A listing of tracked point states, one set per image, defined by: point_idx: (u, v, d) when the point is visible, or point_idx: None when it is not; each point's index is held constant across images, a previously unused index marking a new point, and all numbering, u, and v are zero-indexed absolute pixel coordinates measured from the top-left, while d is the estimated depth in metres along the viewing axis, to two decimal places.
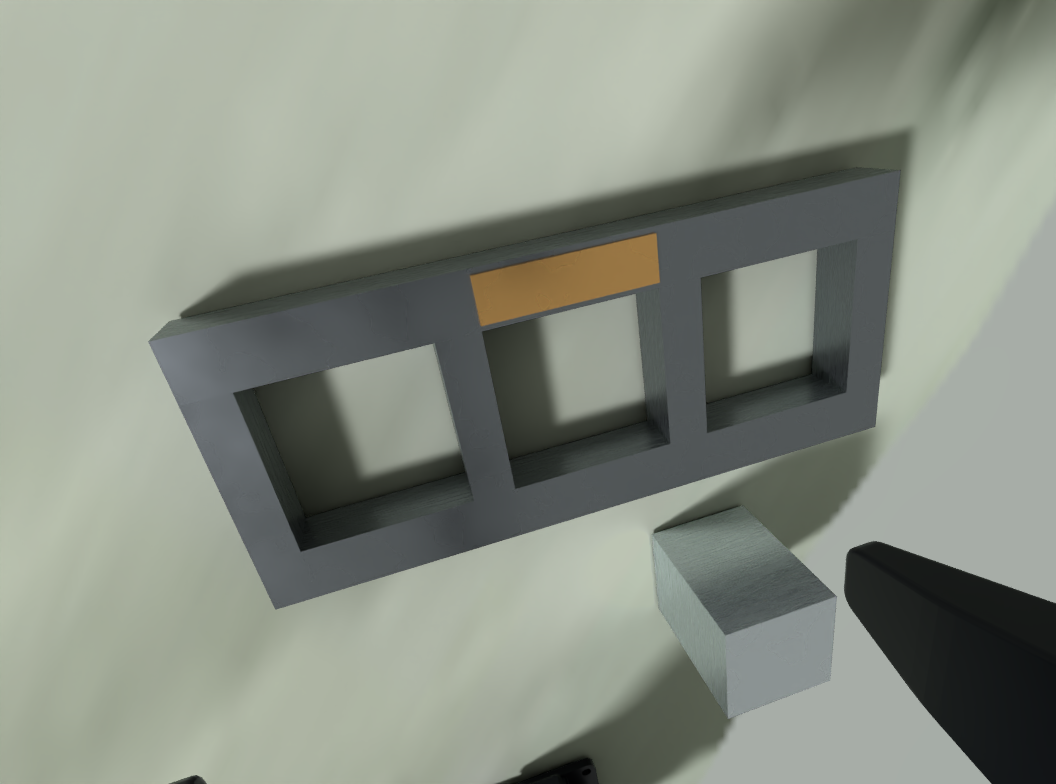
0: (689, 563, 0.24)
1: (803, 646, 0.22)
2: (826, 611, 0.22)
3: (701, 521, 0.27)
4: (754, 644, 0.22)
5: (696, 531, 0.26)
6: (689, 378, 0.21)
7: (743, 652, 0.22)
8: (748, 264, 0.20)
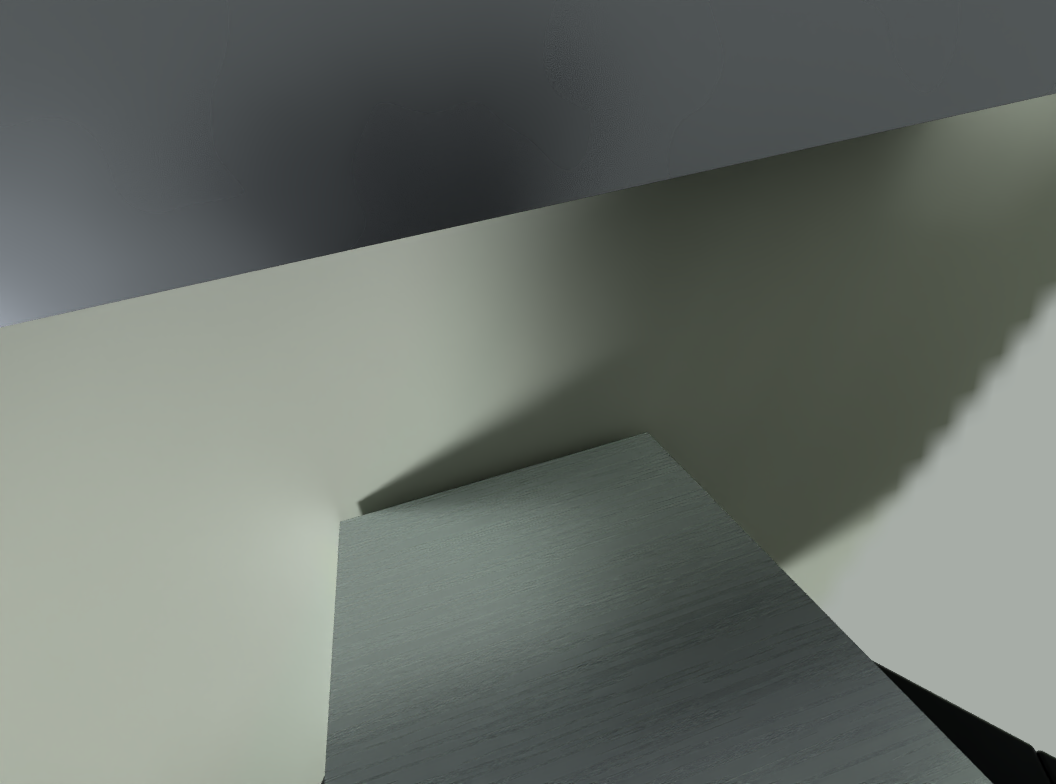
0: (390, 634, 0.06)
1: None
2: None
3: (508, 480, 0.08)
4: None
5: (478, 511, 0.08)
6: None
7: None
8: None
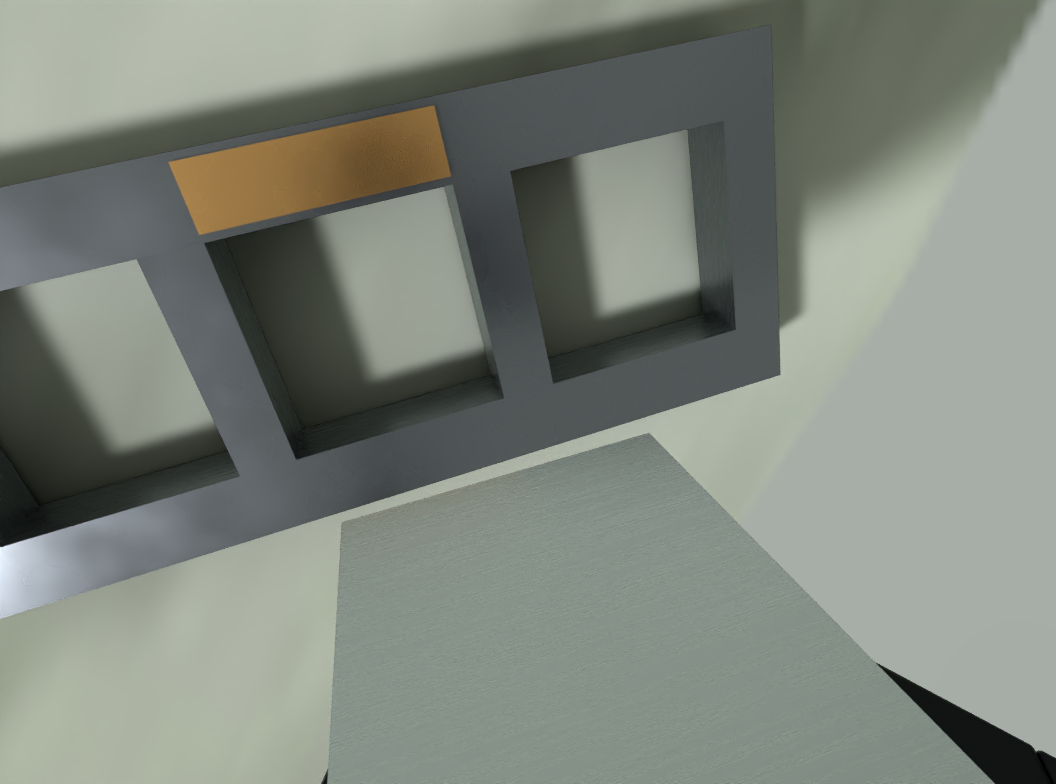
0: (393, 634, 0.06)
1: None
2: None
3: (510, 481, 0.08)
4: None
5: (480, 511, 0.08)
6: (516, 310, 0.16)
7: None
8: (575, 153, 0.15)
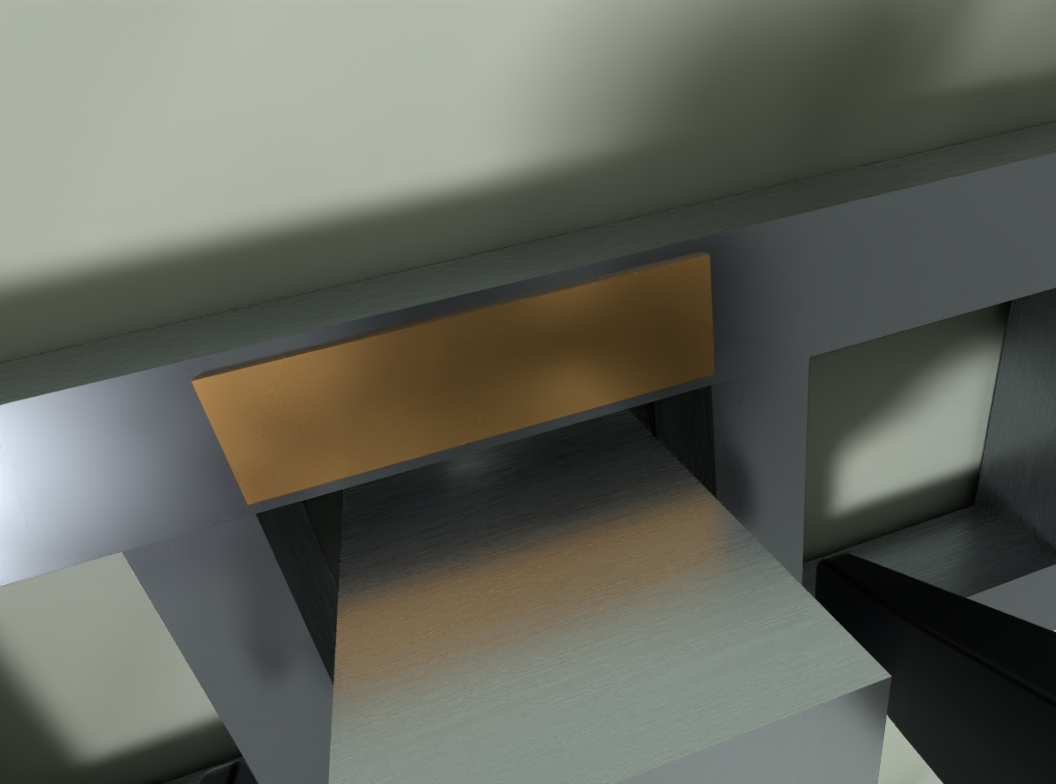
0: (388, 541, 0.07)
1: None
2: (846, 742, 0.05)
3: None
4: None
5: None
6: None
7: None
8: (918, 323, 0.09)
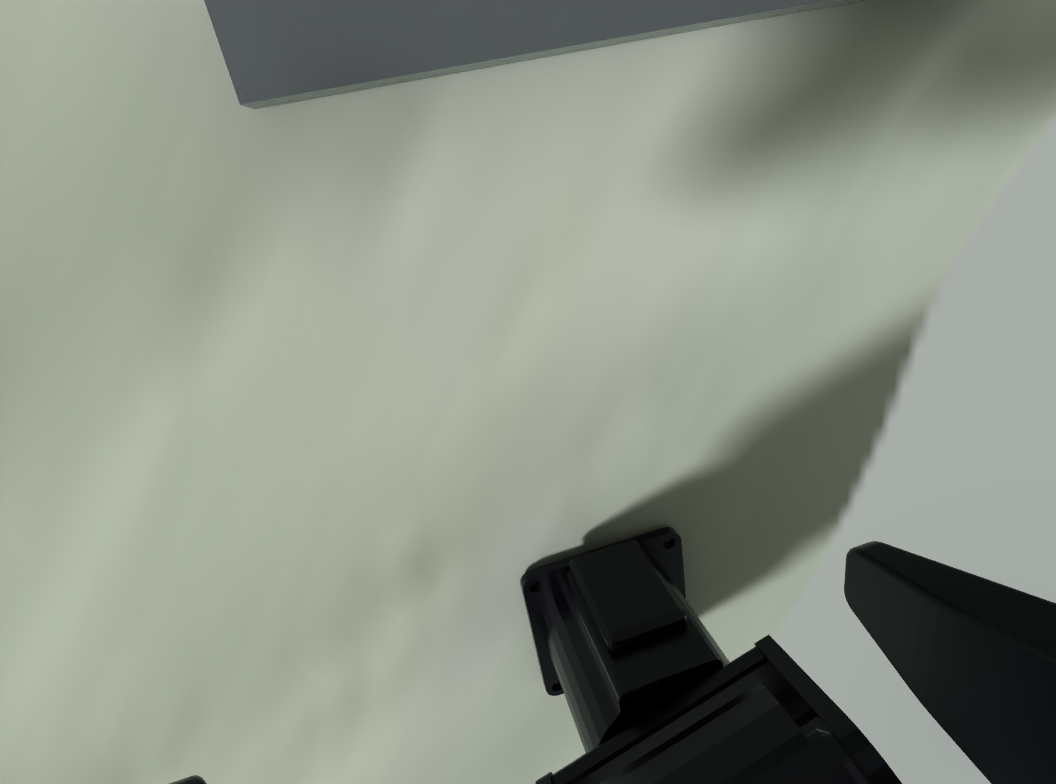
0: None
1: None
2: None
3: None
4: None
5: None
6: None
7: None
8: None
